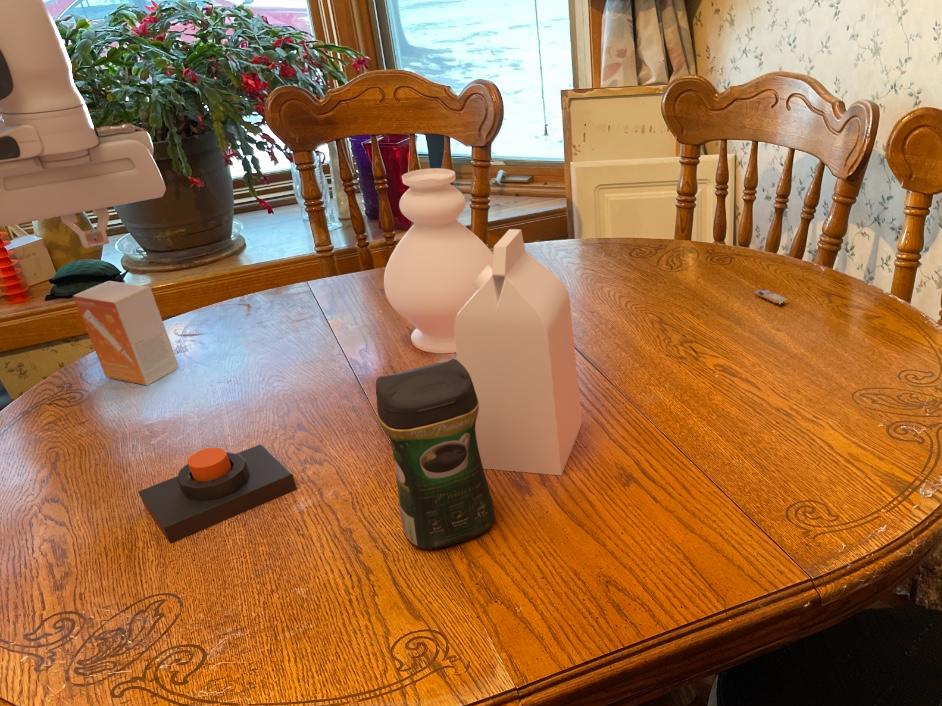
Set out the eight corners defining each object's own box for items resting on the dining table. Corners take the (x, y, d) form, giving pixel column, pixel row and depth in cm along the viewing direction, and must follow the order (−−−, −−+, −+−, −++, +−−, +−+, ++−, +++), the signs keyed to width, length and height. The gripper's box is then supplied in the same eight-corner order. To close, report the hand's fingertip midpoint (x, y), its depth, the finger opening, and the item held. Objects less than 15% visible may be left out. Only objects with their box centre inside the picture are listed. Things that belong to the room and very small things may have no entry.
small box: (105, 378, 115) (70, 295, 108) (140, 360, 120) (109, 279, 113) (146, 387, 112) (113, 302, 105) (180, 367, 117) (151, 285, 110)
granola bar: (789, 304, 131) (790, 298, 130) (779, 307, 130) (780, 301, 129) (762, 292, 136) (762, 286, 135) (752, 295, 135) (752, 289, 134)
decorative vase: (528, 324, 127) (515, 166, 113) (464, 370, 114) (440, 197, 100) (440, 307, 134) (418, 156, 121) (370, 348, 121) (337, 184, 107)
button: (200, 487, 84) (194, 471, 83) (188, 472, 87) (182, 456, 86) (237, 472, 87) (231, 457, 85) (224, 458, 89) (218, 443, 88)
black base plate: (170, 544, 82) (157, 514, 80) (144, 506, 88) (132, 477, 85) (297, 489, 90) (288, 460, 88) (266, 458, 95) (257, 430, 93)
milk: (561, 475, 91) (547, 258, 76) (467, 467, 93) (436, 254, 78) (582, 422, 101) (572, 222, 86) (496, 416, 102) (473, 219, 88)
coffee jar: (479, 493, 88) (458, 344, 78) (504, 532, 82) (485, 376, 72) (394, 519, 85) (361, 366, 74) (414, 561, 79) (381, 401, 68)
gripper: (137, 117, 102) (172, 222, 110) (-50, 142, 91) (2, 257, 99) (151, 124, 98) (186, 232, 106) (-43, 150, 87) (11, 270, 95)
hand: (96, 245), depth 102 cm, fingers closed
